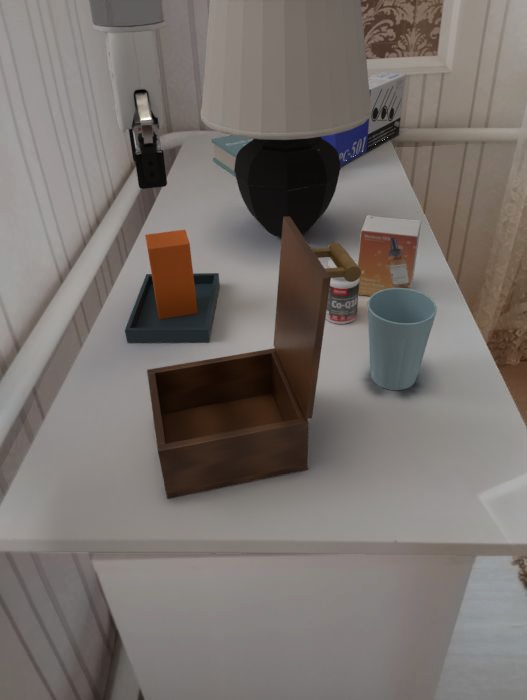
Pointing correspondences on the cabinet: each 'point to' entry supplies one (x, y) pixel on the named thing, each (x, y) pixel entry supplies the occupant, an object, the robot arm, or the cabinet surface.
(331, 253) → the lid
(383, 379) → the cup
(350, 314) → the pill bottle
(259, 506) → the cabinet surface
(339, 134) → the ink box
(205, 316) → the tray
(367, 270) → the small box
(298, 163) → the table lamp
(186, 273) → the block
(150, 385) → the chest
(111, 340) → the cabinet surface
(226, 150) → the book
